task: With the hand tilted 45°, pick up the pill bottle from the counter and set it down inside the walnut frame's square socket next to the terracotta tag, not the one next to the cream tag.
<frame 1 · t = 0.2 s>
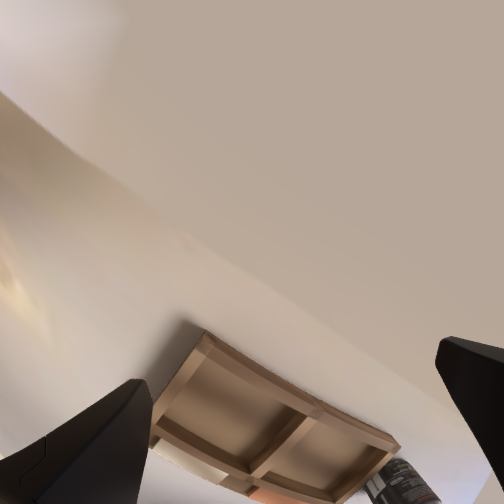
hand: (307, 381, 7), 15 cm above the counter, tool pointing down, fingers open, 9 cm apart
pill bottle: (386, 476, 23), on the counter
socket frame: (279, 435, 22), on the counter
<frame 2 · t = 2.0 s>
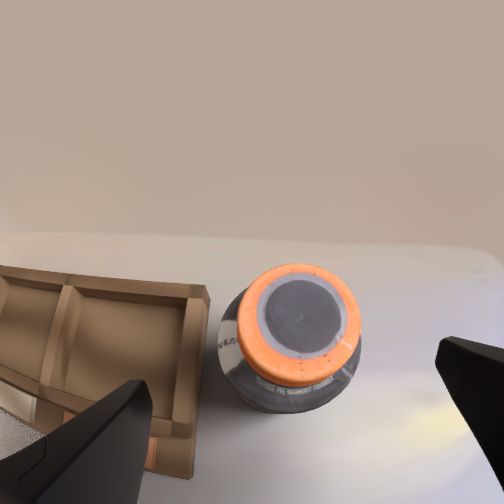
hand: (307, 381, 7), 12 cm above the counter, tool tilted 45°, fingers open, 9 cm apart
pill bottle: (276, 371, 18), on the counter
socket frame: (71, 343, 19), on the counter
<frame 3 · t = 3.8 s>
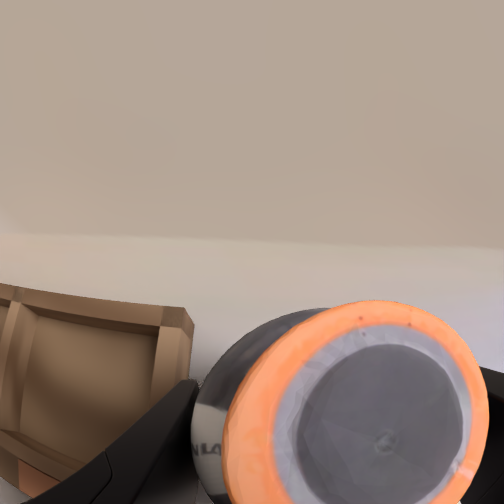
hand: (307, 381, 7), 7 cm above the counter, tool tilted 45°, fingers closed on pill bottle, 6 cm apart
pill bottle: (286, 423, 12), on the counter, touching gripper
socket frame: (25, 373, 13), on the counter
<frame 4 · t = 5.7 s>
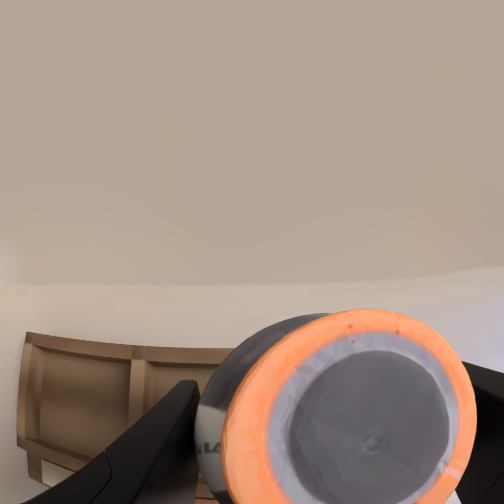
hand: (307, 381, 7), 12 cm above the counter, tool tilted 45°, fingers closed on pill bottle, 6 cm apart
pill bottle: (289, 424, 13), point 5 cm above the counter, touching gripper
socket frame: (148, 418, 17), on the counter
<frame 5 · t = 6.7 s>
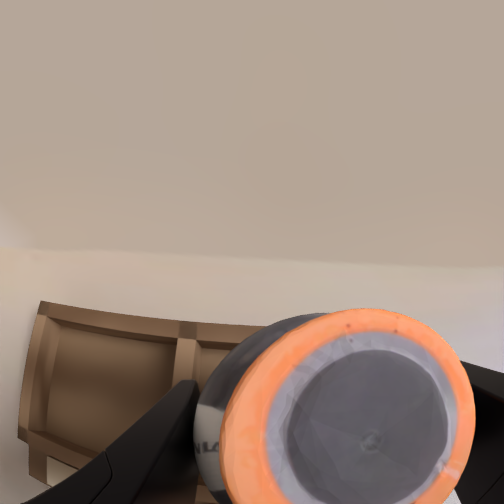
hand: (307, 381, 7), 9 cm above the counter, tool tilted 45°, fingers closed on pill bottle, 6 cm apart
pill bottle: (288, 423, 13), point 2 cm above the counter, touching gripper
socket frame: (189, 412, 15), on the counter
when the fingers open (8 cm above the counter, at t = 7.5 s): pill bottle stays where it is, resting on socket frame.
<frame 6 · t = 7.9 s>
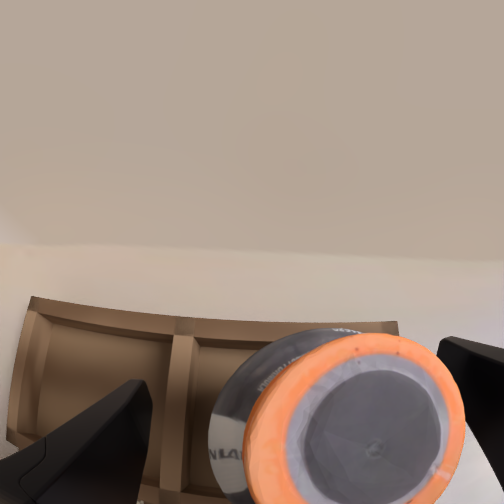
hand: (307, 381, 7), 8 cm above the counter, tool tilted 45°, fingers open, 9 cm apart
pill bottle: (288, 425, 13), resting on socket frame
socket frame: (186, 415, 14), on the counter
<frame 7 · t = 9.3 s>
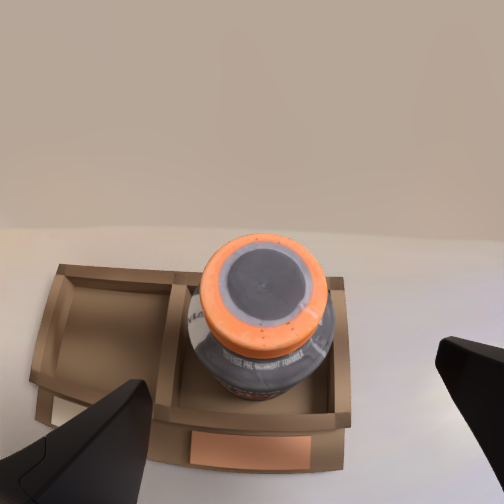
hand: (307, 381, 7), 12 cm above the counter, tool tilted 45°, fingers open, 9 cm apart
pill bottle: (258, 358, 18), resting on socket frame
socket frame: (179, 351, 19), on the counter
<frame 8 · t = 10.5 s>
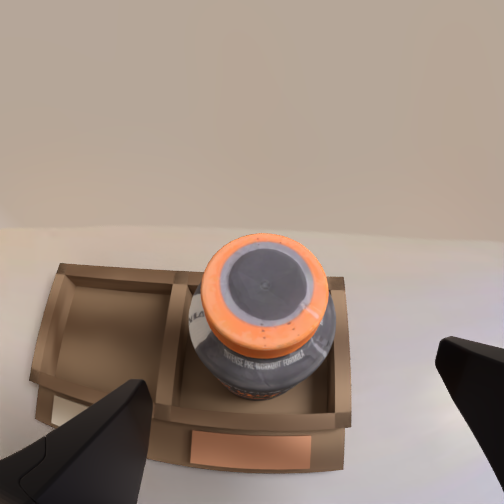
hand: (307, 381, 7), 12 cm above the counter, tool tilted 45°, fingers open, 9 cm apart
pill bottle: (258, 358, 18), resting on socket frame
socket frame: (180, 350, 19), on the counter
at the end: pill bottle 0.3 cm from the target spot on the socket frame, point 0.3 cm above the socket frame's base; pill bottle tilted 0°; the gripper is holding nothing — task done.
